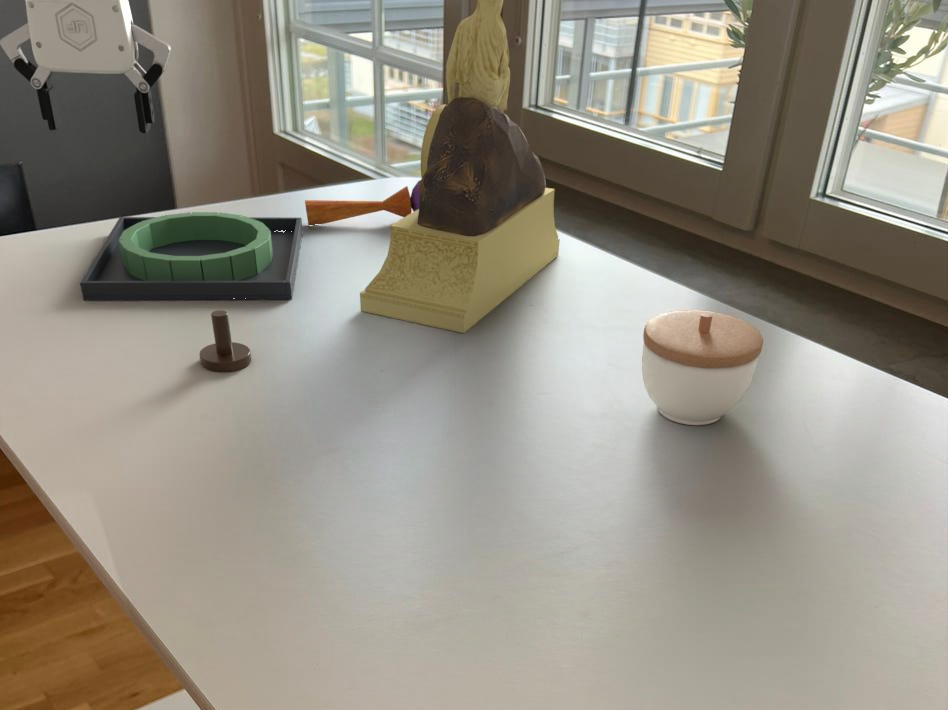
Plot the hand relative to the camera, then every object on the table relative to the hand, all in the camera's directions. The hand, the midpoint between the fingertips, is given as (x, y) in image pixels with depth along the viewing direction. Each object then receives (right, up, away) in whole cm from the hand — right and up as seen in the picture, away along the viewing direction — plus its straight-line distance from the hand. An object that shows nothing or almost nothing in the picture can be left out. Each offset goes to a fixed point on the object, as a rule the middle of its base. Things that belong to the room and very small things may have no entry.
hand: (101, 129), depth 110 cm
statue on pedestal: (+40, -14, +9) cm, 44 cm away
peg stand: (+16, -29, -10) cm, 34 cm away
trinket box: (+62, -35, -15) cm, 73 cm away
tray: (+8, -11, +11) cm, 18 cm away
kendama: (+29, 0, +25) cm, 38 cm away
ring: (+8, -10, +11) cm, 17 cm away
